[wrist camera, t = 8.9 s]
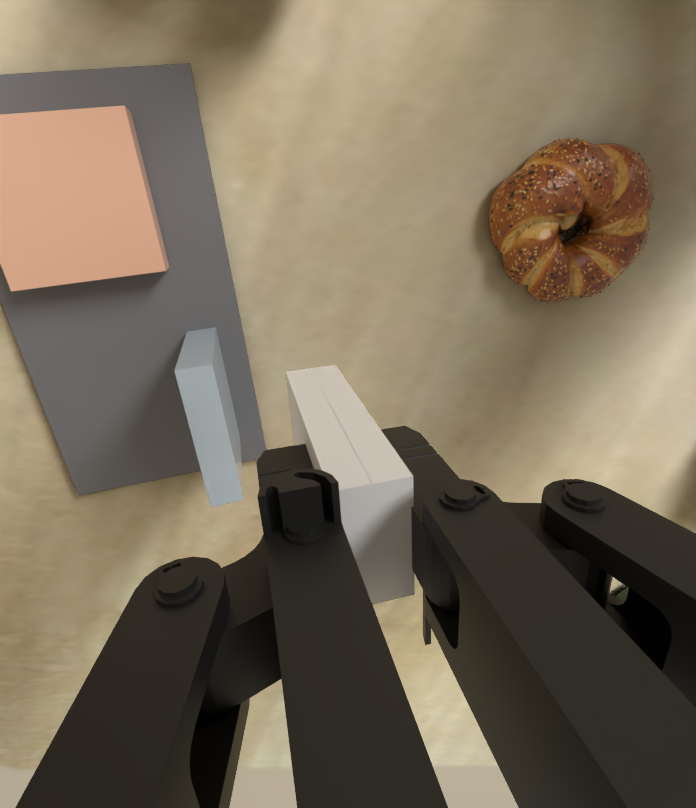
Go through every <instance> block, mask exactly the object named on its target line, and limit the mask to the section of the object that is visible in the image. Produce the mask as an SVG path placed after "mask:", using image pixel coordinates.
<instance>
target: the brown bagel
mask: <svg viewBox="0 0 696 808" xmlns="http://www.w3.org/2000/svg"><path fill="white" fill-rule="evenodd" d="M649 172H650V170H649V169H648V167H647V166H646V164H645V162H644V160H643V159H642V157H641V156H640V154H639V153H637V152H635V151H634V150H632V149H630V148H628V147H626V146H623V145H618V144H600V145H594V144H591V143H588V142H586V141H584V140H580V139H562V140H561V139H559V140H556V141H554V142H553V143H551V144H548V145H546V146H544V147H542V149H539V151H538V152H536V153H535V154H534V155H533V156H532V157H530V158H529V159H528V160H527V161H526V163H525V164H524V165H523V167H522V169H520V170H519V171H517V172H515V173H514V174H512V175H511V176H510V177H508V178H507V179H506V180H505V181H504V182H503V183H501V185H500V187H498V189H497V190H496V191H495V193H494V196H493V198H492V202H491V206H490V212H489V226H490V229H489V230H490V233H491V237H492V239H493V243H494V244H495V245H496V247H497V249H498V250H499V251H500V252H501V253H503V255H502V256H503V264H504V271H505V272H506V273H507V275H508V276H509V277H510V279H513V280H514V282H516V283H517V284H518V283H520V284H521V285H528V292H529V293H530V294H531V295H532V296H533V297H534V298H535V299H536V300H538V301H542V302H547V303H549V302H555V301H560V300H565V299H567V298H568V297H569V296H570V295H574V296H576V298H582V297H588V296H590V297H591V296H592V295H594V294H598V293H601V291H602V290H603V289H605V287H607V286H609V285H610V283H611V282H612V281H614V279H615V278H616V277H617V276H618V275H619V274H621V273H622V272H623V271H624V269H626V268H627V267H628V266H629V265H630V264H631V263H632V262H633V261H634V260H635V259H636V258H637V257H638V256H639V255H640V253H641V251H642V250H643V249H644V246H645V244H646V242H647V241H646V240H647V235H648V231H649V221H648V214H647V213H646V212H647V210H648V209H649V208H650V207H651V204H652V203H653V193H652V183H651V175H650V174H649ZM577 223H579V225H581V226H582V227H581V228H580V230H579V231H578V233H577V235H576V236H575V237H574V238H572V239H570V240H569V241H567V242H565V243H563V242H562V241H561V239H560V237H559V235H558V232H559V234H561V233H562V232H564V231H566V230H569V229H570V228H572V227H574V226H575V225H576V224H577Z"/></svg>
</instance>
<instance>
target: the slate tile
mask: <svg viewBox="0 0 696 808" xmlns="http://www.w3.org/2000/svg"><path fill="white" fill-rule="evenodd" d="M174 371H175V375H176V379H177V382H178V386H179V390H180V394H181V397H182V401H183V405H184V409H185V412H186V416H187V420H188V424H189V427H190V431H191V435H192V439H193V442H194V446H195V450H196V454H197V457H198V461H199V465H200V469H201V472H202V476H203V480H204V484H205V487H206V491H207V495H208V499H209V502H210V506H211V507H214V506H218V505H223V504H227V503H232V502H236V501H241V500H244V497H243V479H242V462H241V445H240V435H239V430H238V426H237V421H236V417H235V412H234V408H233V403H232V398H231V394H230V389H229V385H228V380H227V376H226V371H225V367H224V362H223V358H222V353H221V349H220V344H219V340H218V335H217V330H216V327H214V328H207V329H201V330H194V331H188V332H187V333H186V336H185V339H184V342H183V345H182V349H181V352H180V355H179V358H178V361H177V364H176V367H175V370H174Z"/></svg>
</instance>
